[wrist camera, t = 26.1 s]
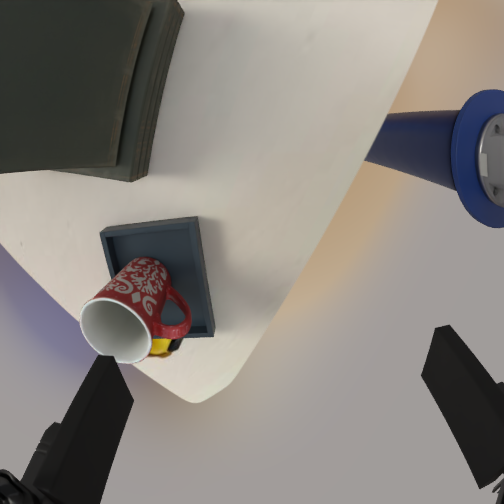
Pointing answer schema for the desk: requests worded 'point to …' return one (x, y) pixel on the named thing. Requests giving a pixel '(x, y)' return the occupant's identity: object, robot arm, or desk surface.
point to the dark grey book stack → (83, 84)
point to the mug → (133, 312)
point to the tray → (167, 265)
